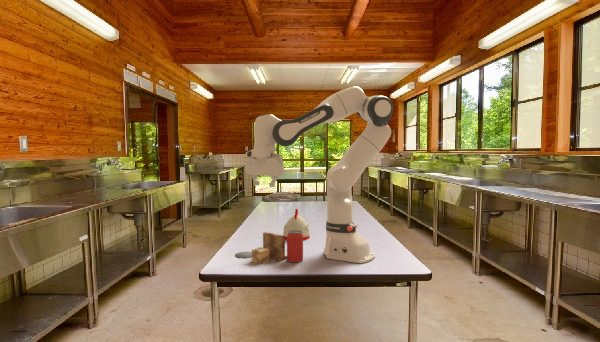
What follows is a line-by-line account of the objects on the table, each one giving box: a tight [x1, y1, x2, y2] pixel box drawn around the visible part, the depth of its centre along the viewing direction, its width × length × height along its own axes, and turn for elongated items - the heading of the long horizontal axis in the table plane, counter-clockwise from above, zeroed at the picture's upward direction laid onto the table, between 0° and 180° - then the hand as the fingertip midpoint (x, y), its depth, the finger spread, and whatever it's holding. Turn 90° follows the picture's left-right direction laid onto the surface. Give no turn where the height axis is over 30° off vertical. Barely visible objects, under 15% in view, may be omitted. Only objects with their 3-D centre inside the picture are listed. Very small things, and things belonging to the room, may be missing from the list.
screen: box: [262, 231, 287, 262], centre depth 143 cm, size 11×5×10 cm, turn 52°
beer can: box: [286, 230, 304, 264], centre depth 139 cm, size 7×7×12 cm
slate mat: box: [234, 251, 252, 259], centre depth 147 cm, size 9×9×1 cm
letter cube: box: [251, 246, 270, 265], centre depth 138 cm, size 5×5×5 cm
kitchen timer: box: [282, 208, 311, 241], centre depth 177 cm, size 14×14×15 cm
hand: (264, 186), depth 143 cm, fingers open, 8 cm apart
